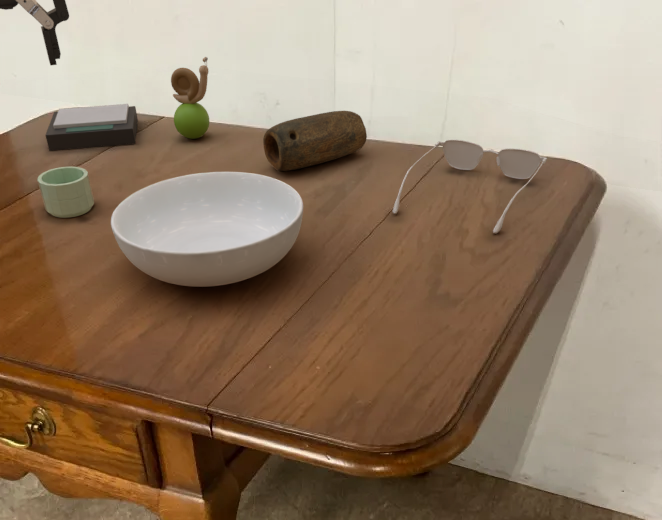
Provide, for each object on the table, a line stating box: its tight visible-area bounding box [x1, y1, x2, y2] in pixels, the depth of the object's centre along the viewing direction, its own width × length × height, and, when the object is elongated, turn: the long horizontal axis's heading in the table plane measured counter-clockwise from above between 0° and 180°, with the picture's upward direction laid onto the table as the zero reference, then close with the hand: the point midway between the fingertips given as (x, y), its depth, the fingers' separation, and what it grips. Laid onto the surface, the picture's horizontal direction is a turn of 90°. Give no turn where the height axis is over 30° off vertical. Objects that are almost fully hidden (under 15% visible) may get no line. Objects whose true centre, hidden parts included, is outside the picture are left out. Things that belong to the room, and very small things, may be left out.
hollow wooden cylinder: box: [262, 110, 368, 172], centre depth 110 cm, size 15×7×7 cm, turn 130°
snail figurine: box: [170, 56, 210, 140], centre depth 117 cm, size 5×6×12 cm
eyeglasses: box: [392, 139, 548, 234], centre depth 100 cm, size 15×18×4 cm
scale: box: [45, 103, 139, 151], centre depth 122 cm, size 13×11×3 cm
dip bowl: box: [36, 165, 95, 219], centre depth 100 cm, size 6×6×4 cm
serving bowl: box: [110, 171, 304, 288], centre depth 86 cm, size 21×21×7 cm
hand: (13, 68), depth 86 cm, fingers open, 8 cm apart
